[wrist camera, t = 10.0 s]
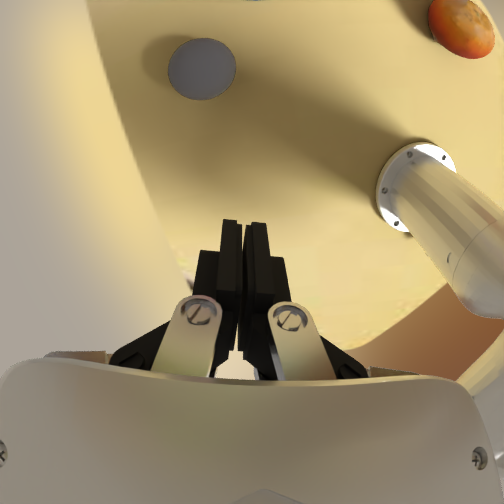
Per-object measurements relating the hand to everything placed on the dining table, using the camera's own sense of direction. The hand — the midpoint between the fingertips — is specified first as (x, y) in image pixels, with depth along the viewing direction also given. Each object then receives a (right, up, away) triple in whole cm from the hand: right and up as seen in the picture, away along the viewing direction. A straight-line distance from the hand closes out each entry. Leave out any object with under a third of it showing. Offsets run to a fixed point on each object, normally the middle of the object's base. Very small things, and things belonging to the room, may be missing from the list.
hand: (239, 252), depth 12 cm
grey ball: (-4, +16, +11) cm, 20 cm away
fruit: (+23, +27, +9) cm, 36 cm away
